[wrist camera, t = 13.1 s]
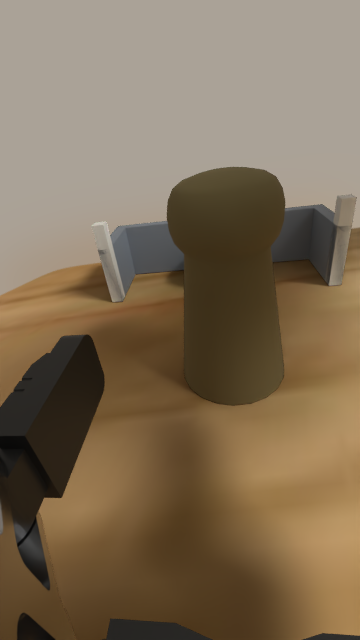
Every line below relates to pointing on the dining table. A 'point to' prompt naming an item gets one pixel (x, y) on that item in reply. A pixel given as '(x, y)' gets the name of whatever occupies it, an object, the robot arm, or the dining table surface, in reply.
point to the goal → (292, 244)
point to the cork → (229, 282)
